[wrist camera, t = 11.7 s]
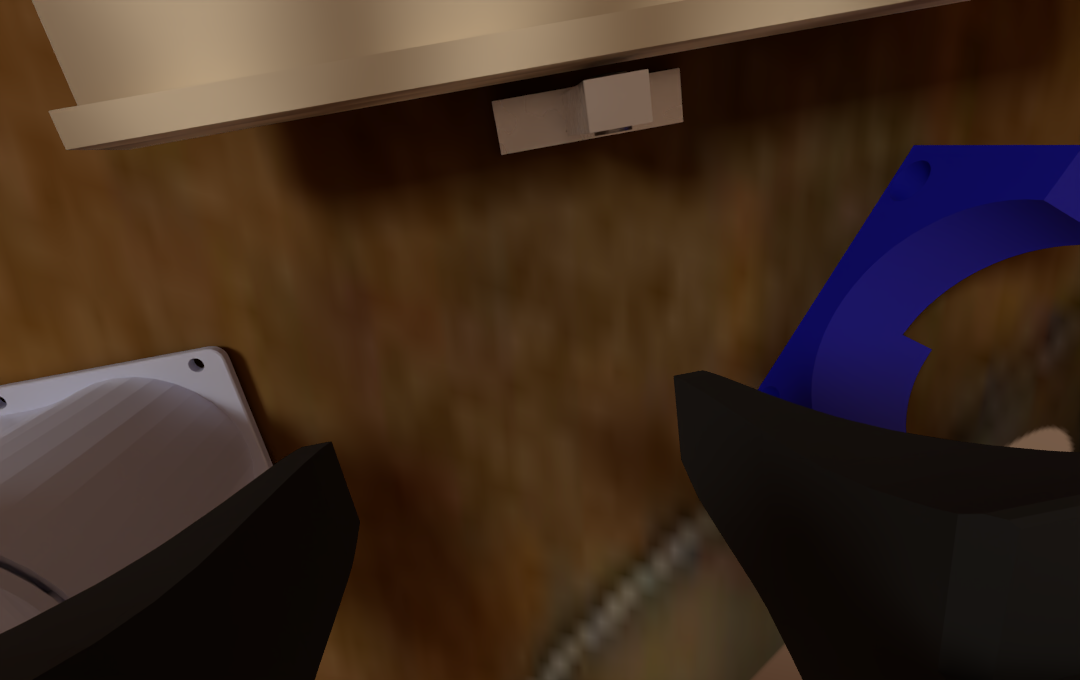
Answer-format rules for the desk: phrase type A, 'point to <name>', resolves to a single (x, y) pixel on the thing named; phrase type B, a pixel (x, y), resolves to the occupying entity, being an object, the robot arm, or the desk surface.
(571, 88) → the pivot stand
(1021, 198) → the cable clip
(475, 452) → the desk surface
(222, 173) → the desk surface
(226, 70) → the balance beam
